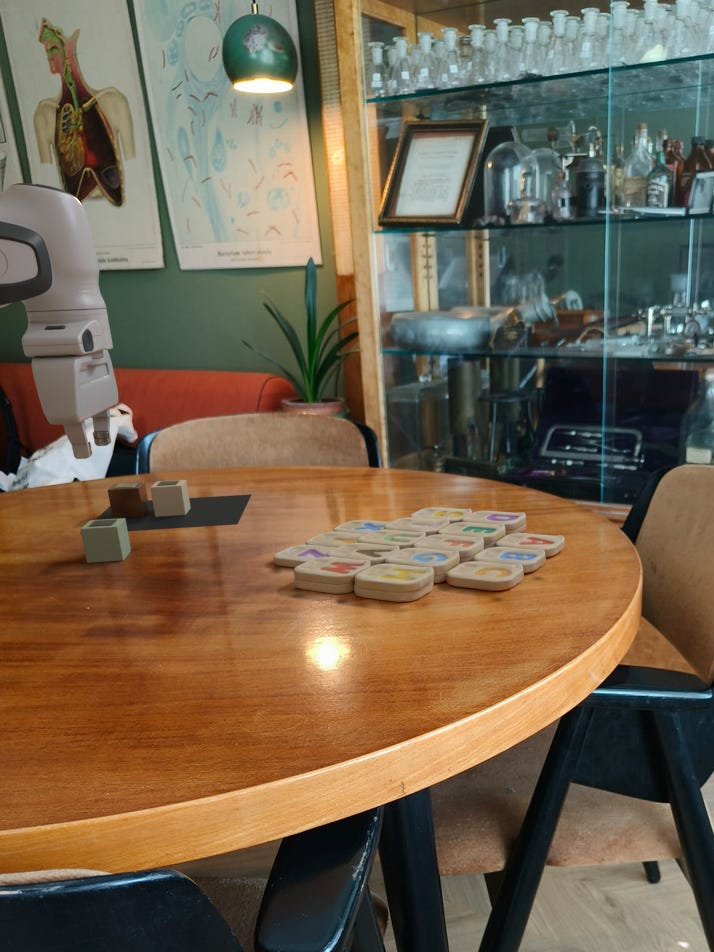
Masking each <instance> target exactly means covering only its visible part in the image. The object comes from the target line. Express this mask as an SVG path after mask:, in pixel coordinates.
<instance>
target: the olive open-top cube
mask: <svg viewBox="0 0 714 952" xmlns="http://www.w3.org/2000/svg"><path fill="white" fill-rule="evenodd" d="M80 533H81V534H80V535H81V539H82V544H83V549H84V554H85V559H86V564H92V563H109V562H123V561H125V559H126V558H127V557H128V556H129V554H131V552H132V547H131V542H130V536H129V531H128V530H127V525H126V519H125V518H121V519H104V520H95V519H92V520H91V519H90V520H89V521H87V522H86V524H84V525H83V526H82V527H81V528H80Z"/></svg>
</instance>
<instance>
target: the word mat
mask: <svg viewBox="0 0 714 952" xmlns="http://www.w3.org/2000/svg"><path fill="white" fill-rule="evenodd" d="M252 495H253V494H234V495H219V496H201V497H200V496H199V497H189V501H190V507H191V508H190V510H189V511H188V512H187V514H186V515H177V516H161V517H155V512H154V507H153V501H152V499H148V502H149V508H150V511H149V512H148V513H147V514H146V516H145V517H144V518H128V519H126V525H127V530H128V532H136V531H137V532H139V531H154V530H171V529H186V528H187V529H189V528H201V527H204V528H205V527H217V526H234V525H235V526H236V525H239V522H240V521H241V518H242V516H243V514H244V512H245V510H246V508H247V506H248V503H249V502H250V499H251V498H252ZM104 519H113V517H112V511H111V506H109V507H107V508H106V509H105V510H104V511H103V512H102V513H100V515H99V516H98V517H96V518H95V519H94V520H104ZM79 535H81V532H80V533H79Z"/></svg>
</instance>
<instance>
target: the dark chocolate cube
mask: <svg viewBox="0 0 714 952" xmlns="http://www.w3.org/2000/svg"><path fill="white" fill-rule="evenodd" d="M147 491H148V490H147V485H146V482H145V481H141V482H140V481H139V482H123V483H121V482H120V483H114V484H113V485H111V486H110V487H109V488H108V489H107V495H108V501H109V505H110V506H111V511H112V517H113V519H121V518H125V519H128V518H144V517H145V516H146V514H147V513H148V512H149V511H150V508H149V502H148V500H149V497H148V492H147ZM110 506H109V507H110Z"/></svg>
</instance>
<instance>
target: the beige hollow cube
mask: <svg viewBox="0 0 714 952" xmlns="http://www.w3.org/2000/svg"><path fill="white" fill-rule="evenodd" d="M150 494H151V500H152V501H153V507H154V512H155V517H161V516H177V515H186V514H187V512H188V511H189V510H190V508H191V507H190V501H189V498H190V496H189V495H190V494H189V488H188V481H187V479H177V480H175V479H174V480H158V481H157V480H156V481H155V482H154V483H153V485H151V486H150Z"/></svg>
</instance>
